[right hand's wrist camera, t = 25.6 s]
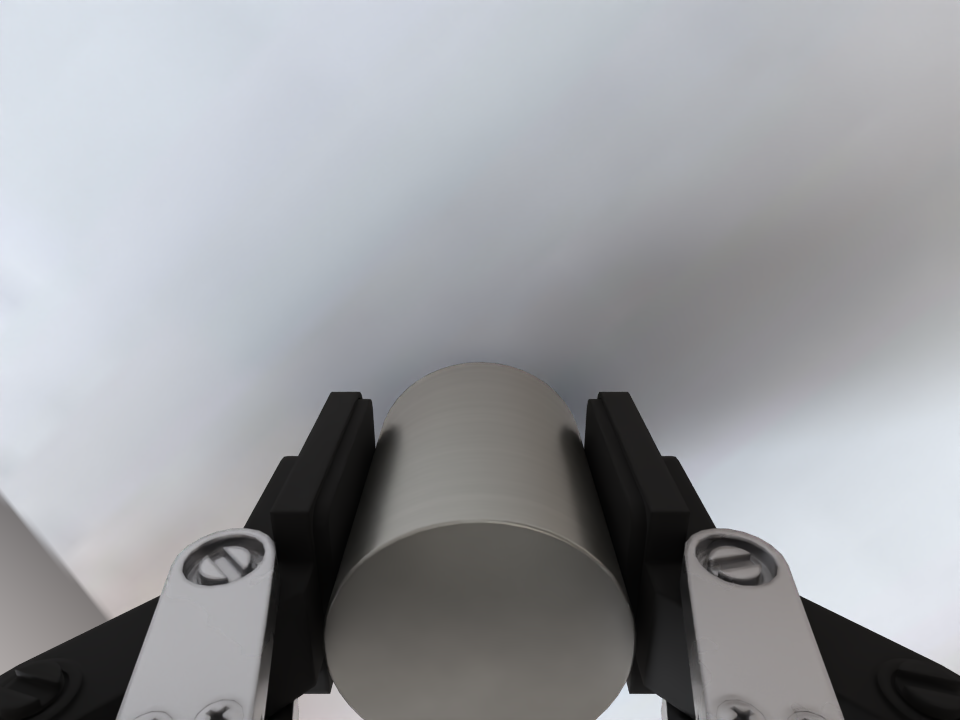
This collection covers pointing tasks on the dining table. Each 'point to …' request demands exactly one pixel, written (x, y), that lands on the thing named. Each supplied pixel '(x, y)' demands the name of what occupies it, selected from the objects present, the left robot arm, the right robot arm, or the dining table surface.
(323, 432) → the right robot arm
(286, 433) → the dining table surface
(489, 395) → the canister
